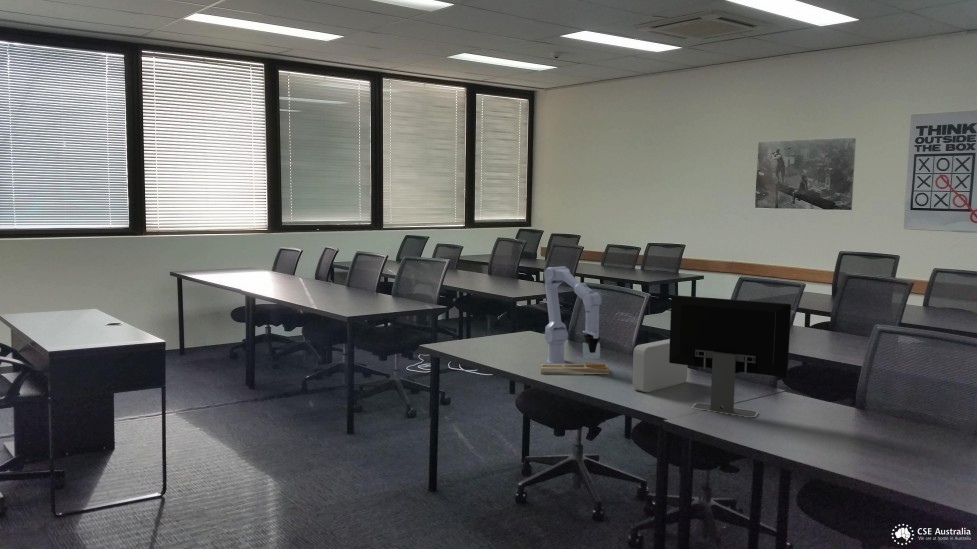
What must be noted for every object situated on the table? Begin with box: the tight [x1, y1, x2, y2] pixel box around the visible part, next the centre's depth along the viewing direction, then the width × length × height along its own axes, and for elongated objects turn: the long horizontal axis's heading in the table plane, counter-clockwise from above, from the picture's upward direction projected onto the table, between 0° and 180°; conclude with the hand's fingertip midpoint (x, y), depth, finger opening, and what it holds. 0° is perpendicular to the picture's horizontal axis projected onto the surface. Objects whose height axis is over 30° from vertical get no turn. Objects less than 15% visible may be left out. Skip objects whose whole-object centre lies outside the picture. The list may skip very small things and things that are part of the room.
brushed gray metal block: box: [582, 341, 601, 360], centre depth 317 cm, size 2×7×6 cm, turn 96°
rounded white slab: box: [632, 338, 689, 393], centre depth 295 cm, size 29×8×18 cm, turn 129°
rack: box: [539, 362, 610, 375], centre depth 318 cm, size 9×29×3 cm, turn 88°
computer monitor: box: [669, 294, 792, 418], centre depth 260 cm, size 41×8×40 cm, turn 59°
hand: (591, 351), depth 317 cm, fingers closed on brushed gray metal block, 2 cm apart
